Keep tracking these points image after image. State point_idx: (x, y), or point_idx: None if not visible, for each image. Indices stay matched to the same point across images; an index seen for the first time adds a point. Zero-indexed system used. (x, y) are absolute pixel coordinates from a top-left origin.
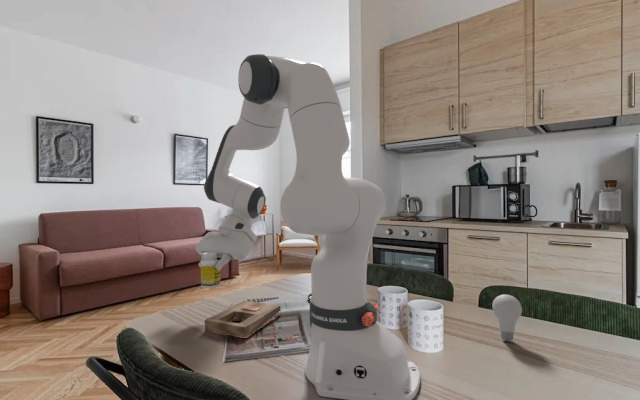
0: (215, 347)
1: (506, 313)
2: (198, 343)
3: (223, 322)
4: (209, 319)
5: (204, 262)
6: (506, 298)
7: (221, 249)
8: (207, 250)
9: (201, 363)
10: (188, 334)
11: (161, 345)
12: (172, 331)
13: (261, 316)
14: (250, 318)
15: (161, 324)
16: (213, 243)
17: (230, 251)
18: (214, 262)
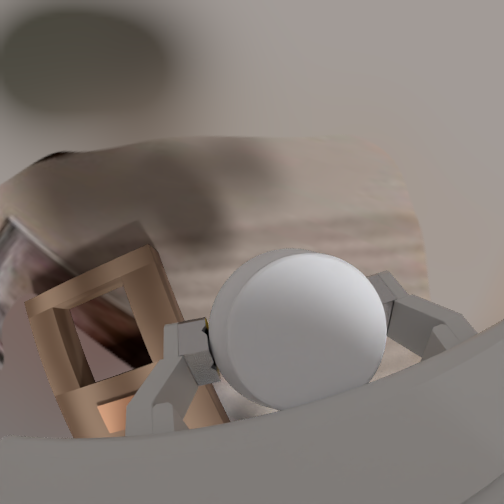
0: (59, 230)
1: None
2: (105, 208)
3: (88, 278)
4: (141, 258)
5: (263, 260)
6: None
7: (213, 453)
8: (441, 354)
9: (33, 182)
10: (176, 209)
11: (166, 141)
12: (233, 185)
13: (53, 385)
14: (59, 354)
15: (314, 181)
16: (471, 442)
17: (54, 450)
18: (211, 335)
